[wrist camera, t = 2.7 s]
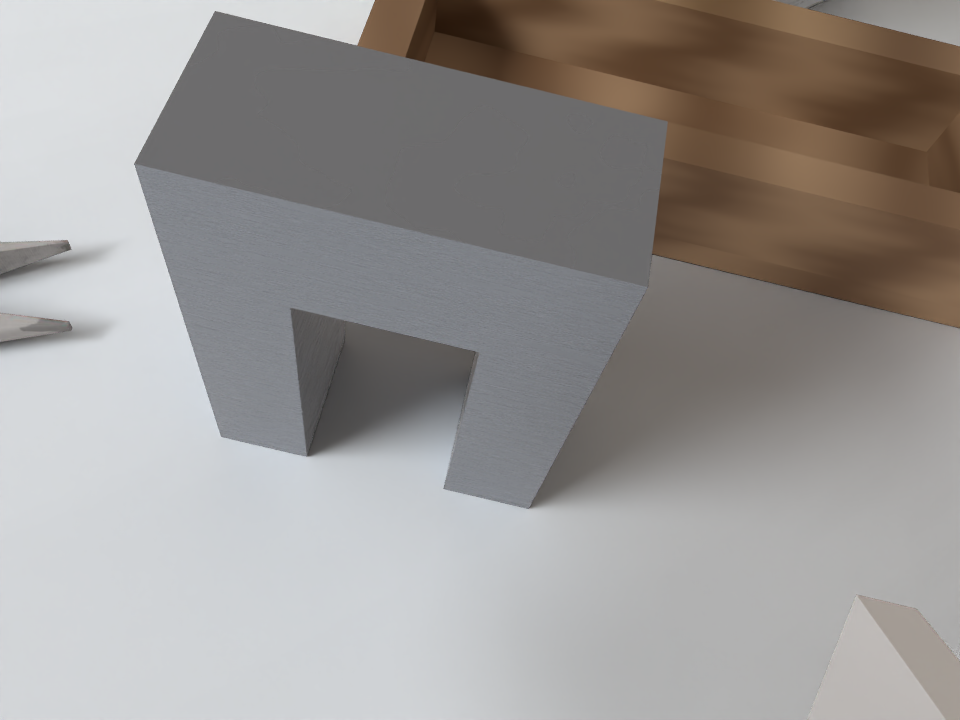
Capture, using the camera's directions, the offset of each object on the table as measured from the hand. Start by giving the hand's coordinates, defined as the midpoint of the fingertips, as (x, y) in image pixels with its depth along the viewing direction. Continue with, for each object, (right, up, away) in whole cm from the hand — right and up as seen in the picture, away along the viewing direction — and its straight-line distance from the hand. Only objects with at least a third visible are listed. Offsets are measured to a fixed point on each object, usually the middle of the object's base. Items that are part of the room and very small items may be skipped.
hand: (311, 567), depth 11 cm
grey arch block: (-1, +1, +15) cm, 15 cm away
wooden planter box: (+9, +10, +21) cm, 25 cm away
